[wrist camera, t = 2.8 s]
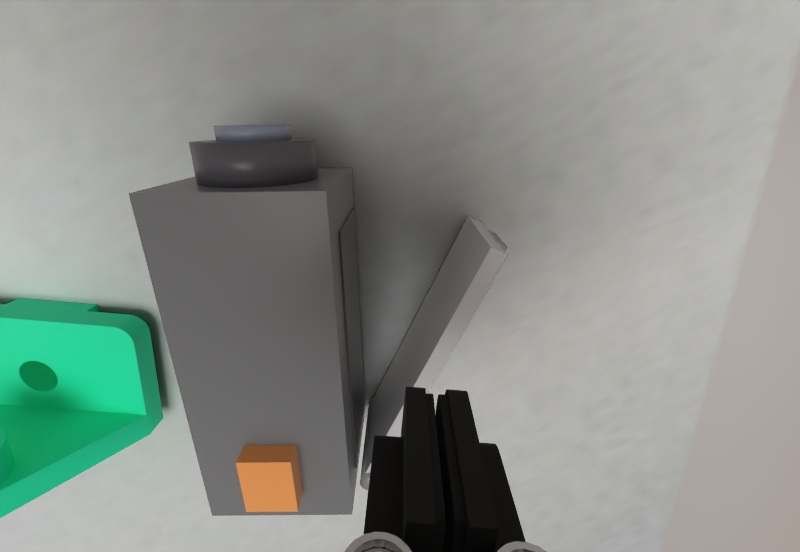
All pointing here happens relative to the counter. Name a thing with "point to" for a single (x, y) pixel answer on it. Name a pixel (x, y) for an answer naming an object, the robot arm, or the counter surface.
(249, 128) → the camera body
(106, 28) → the counter surface
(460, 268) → the door
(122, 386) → the camera mount
